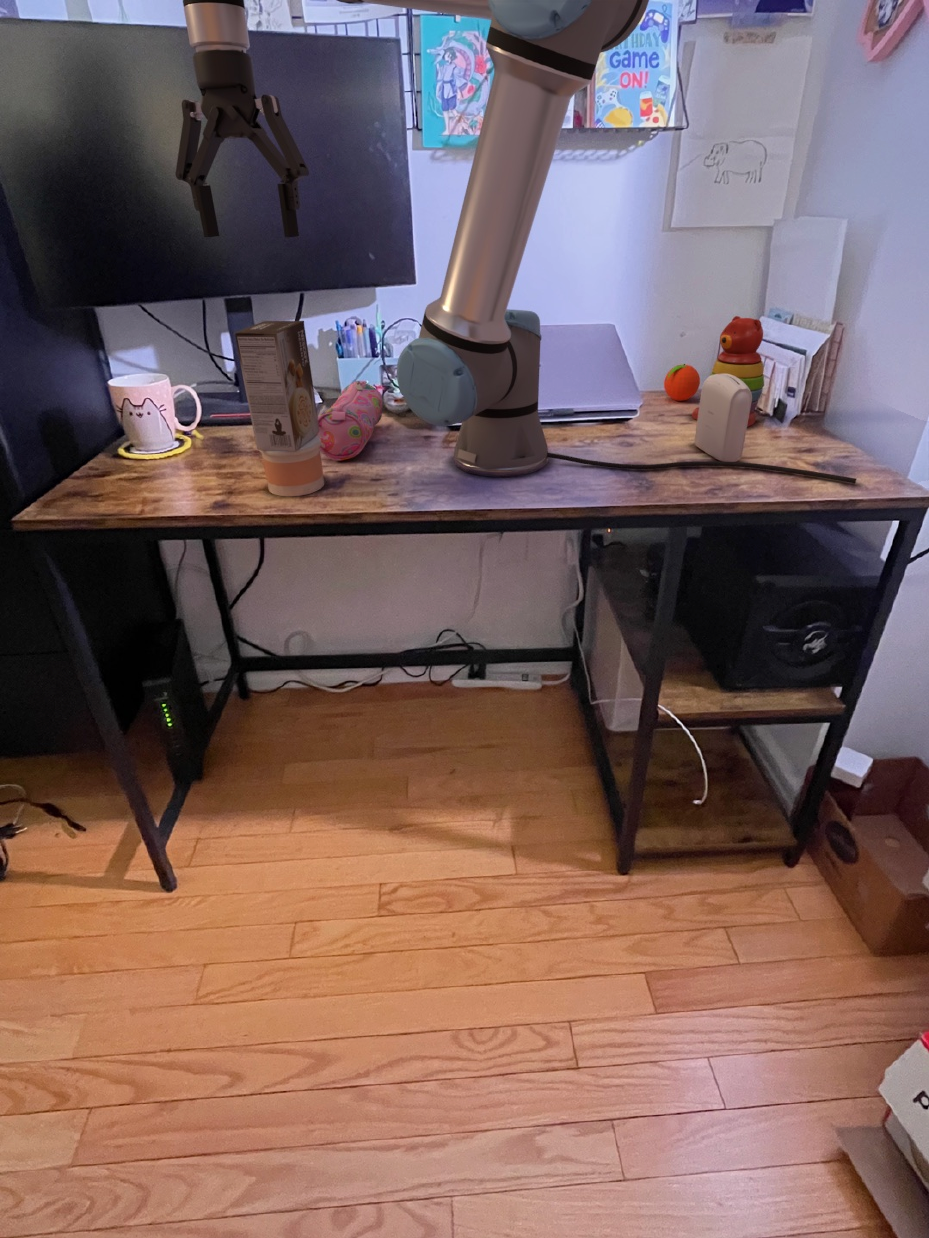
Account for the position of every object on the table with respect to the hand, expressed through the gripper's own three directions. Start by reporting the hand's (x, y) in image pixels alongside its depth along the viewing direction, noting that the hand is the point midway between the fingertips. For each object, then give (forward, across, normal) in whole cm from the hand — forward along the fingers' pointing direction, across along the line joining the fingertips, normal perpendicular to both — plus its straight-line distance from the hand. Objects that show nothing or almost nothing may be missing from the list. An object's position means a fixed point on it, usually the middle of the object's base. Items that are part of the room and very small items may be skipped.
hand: (251, 237), depth 103 cm
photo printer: (+33, -70, -18) cm, 79 cm away
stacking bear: (+33, -71, -37) cm, 87 cm away
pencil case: (+33, -9, -8) cm, 35 cm away
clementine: (+33, -62, -49) cm, 85 cm away
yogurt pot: (+33, -9, +13) cm, 36 cm away
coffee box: (+26, -9, +13) cm, 30 cm away
